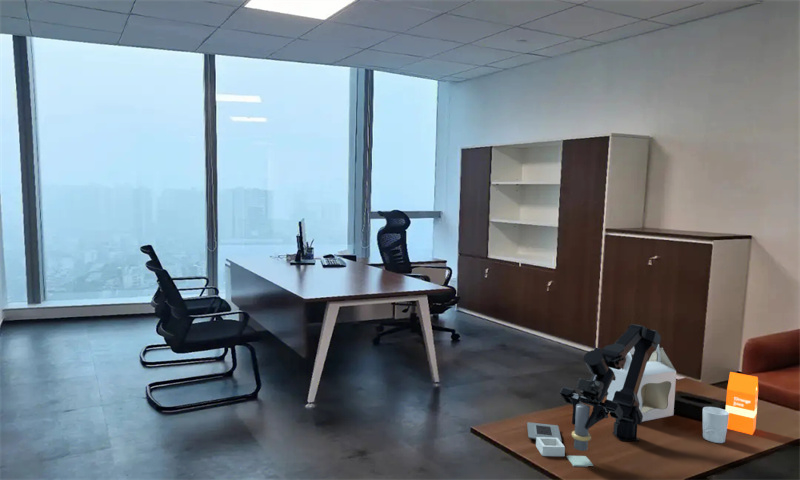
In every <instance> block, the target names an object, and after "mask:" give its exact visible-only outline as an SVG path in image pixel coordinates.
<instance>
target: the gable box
mask: <svg viewBox="0 0 800 480" xmlns="http://www.w3.org/2000/svg"><path fill="white" fill-rule="evenodd" d="M634 351H635V349H634V347H633V348H632V349H631V350H630V351H629V352H628V353H627V355H626V362H625V365H624V366H623V367H622V368H621V369H620V370H618V369H614V368H611V369H612V371H613V372H614V374H615V377H616V380H615V381H614V380H612V382H611V384H610V386H609V388H608V396H606V400H611V401H612V400H613V398H614V394H615V392H616V391H620V390H621V389H623V386H624V383H625V379H626V376H627V373H628V370H629V367H630V364H631V360H632V357H633V354H634ZM609 368H610V367H609ZM676 379H677V370H676V368H675V366H674V364H673V363H672V361H671V360H670V358H669V356H668V355H667V353H666V352H665V350H664V347H660V343H659V344H658V346H657V349H656V351H654V352H653V353H652V354H651V355H650V356H649V358H648V360H647V364H646V367H645V370H644V373H643V377H642V380H641V383H640V387H639V390H638V393H637V397H638V400H639V403H640V405H639V409H640V411H641V413H642V415H643V418H642V422H646V421H647V422H648V421H652V420H656V419H657V420H658V419H662V418H668V417H672V416H674V413H675V409H674V408H675V400H676V399H675V398H676V397H675V396H676V383H677V380H676ZM608 414H610V412H609V413H608ZM642 422H641V423H642Z"/></svg>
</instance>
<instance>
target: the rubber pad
mask: <svg viewBox="0 0 800 480" xmlns="http://www.w3.org/2000/svg"><path fill="white" fill-rule="evenodd" d="M566 458H567V460H568V461H569V462H570V464H571V465H572V467H588V466H593V467H594V464H593V463H592V461H591V460H590V459H589V458H588V457H587V456H586V455H566Z"/></svg>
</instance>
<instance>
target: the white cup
mask: <svg viewBox="0 0 800 480" xmlns="http://www.w3.org/2000/svg"><path fill="white" fill-rule="evenodd" d="M728 419H729V412H728V411H726V410H725V409H723V408H720V407H715V406H704V407H702V438H703V439H704V440H707V441H708V442H710V443H715V444H716V443H717V444H723V443H726V436H727V433H728V429H727V427H728Z"/></svg>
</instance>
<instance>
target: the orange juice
mask: <svg viewBox="0 0 800 480" xmlns="http://www.w3.org/2000/svg"><path fill="white" fill-rule="evenodd" d="M758 397H759V377H758V376H755V375H749V374H746V373H745V374H744V373H738V372H733V371H730V372H729V377H728V383H727V387H726V397H725V399H726V401H725V409H724V410H726V411H728V412H729V419H728V427H727V430H731V431H735V432H738V433H739V432H740V433H743V434H747V435H751V436H752V435H754V433H755V431H756V425H757V412H758Z"/></svg>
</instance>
